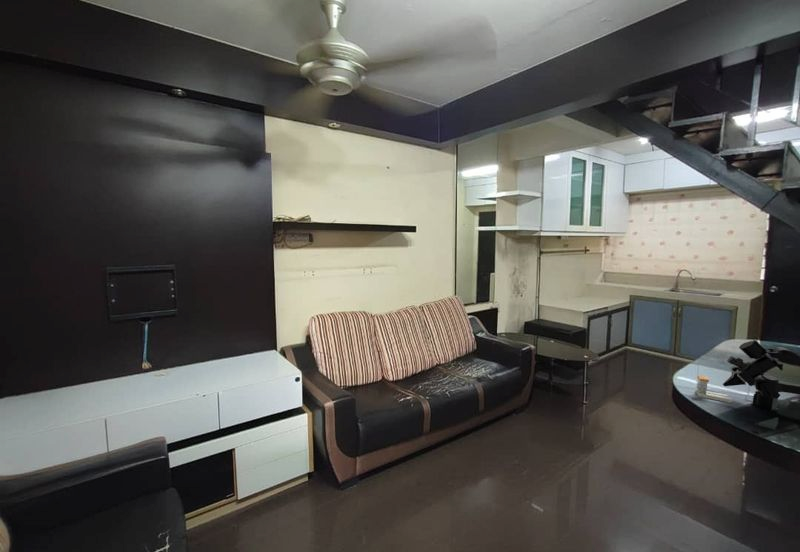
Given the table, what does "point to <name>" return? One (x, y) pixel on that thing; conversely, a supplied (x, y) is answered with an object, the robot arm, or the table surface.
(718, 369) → the table surface
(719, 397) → the block
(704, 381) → the handle
